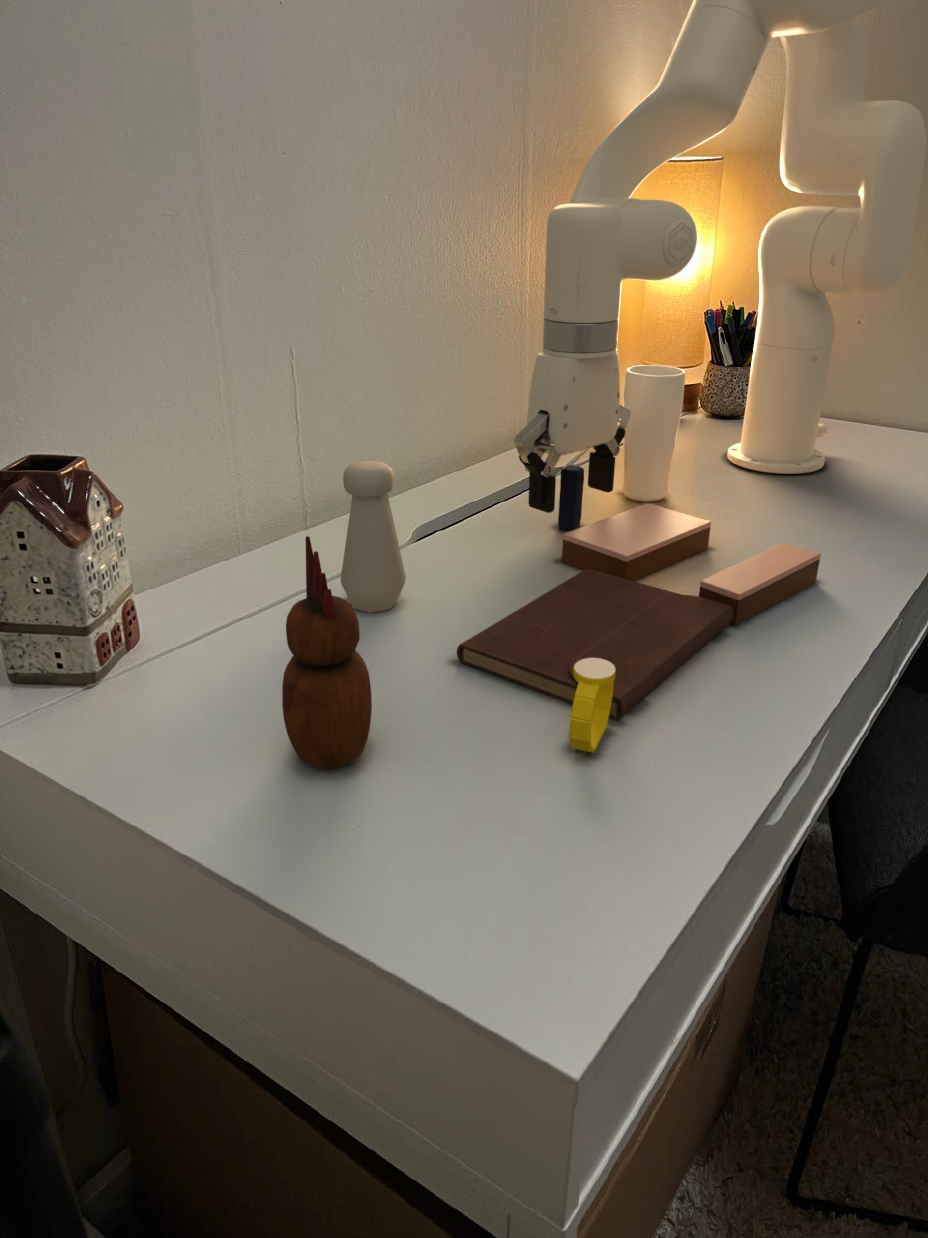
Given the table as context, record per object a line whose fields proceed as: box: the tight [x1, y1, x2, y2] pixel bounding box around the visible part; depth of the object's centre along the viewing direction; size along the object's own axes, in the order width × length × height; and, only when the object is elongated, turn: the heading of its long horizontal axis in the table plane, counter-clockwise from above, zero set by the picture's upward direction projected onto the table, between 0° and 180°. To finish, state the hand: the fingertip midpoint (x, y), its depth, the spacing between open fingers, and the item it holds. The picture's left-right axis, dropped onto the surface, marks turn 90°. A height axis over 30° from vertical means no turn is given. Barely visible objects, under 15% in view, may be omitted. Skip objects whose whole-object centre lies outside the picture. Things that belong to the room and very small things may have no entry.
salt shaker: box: [340, 460, 407, 614], centre depth 81 cm, size 6×6×13 cm
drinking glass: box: [622, 364, 686, 503], centre depth 109 cm, size 7×7×15 cm
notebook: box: [456, 569, 734, 722], centre depth 77 cm, size 15×20×2 cm
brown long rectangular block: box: [698, 542, 822, 626], centre depth 85 cm, size 14×4×3 cm, turn 133°
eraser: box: [557, 464, 585, 532], centre depth 101 cm, size 2×2×7 cm
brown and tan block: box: [561, 502, 712, 582], centre depth 94 cm, size 14×8×3 cm, turn 133°
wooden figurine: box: [281, 536, 373, 770], centre depth 59 cm, size 7×6×15 cm
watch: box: [568, 658, 616, 754], centre depth 63 cm, size 6×3×6 cm, turn 157°
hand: (571, 498), depth 101 cm, fingers open, 9 cm apart
